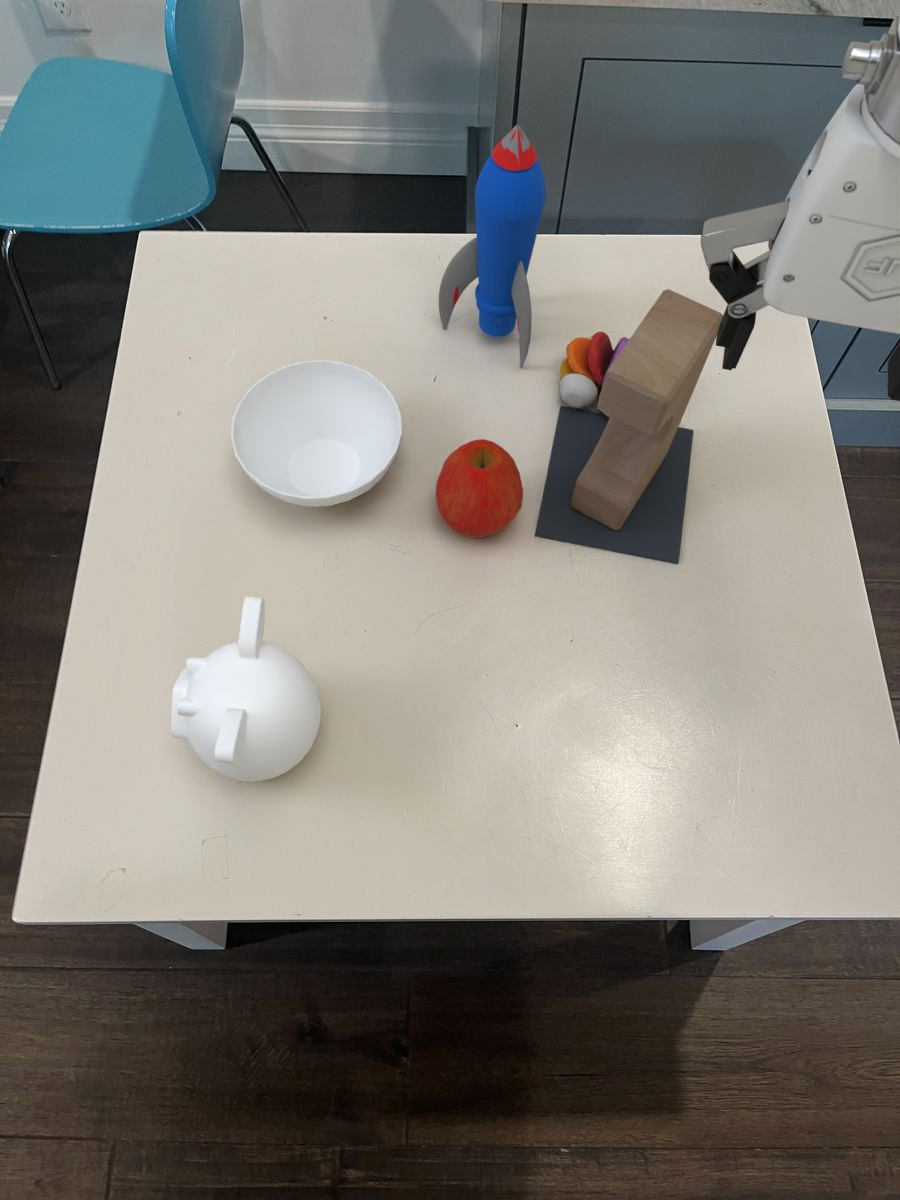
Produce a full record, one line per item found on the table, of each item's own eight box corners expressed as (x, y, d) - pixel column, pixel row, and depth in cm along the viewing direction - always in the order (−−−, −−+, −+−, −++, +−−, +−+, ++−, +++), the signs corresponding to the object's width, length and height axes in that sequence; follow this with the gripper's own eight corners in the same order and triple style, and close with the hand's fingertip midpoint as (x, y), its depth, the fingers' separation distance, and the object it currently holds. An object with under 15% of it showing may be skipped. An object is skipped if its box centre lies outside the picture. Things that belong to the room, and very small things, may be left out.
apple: (534, 528, 86) (548, 465, 76) (463, 566, 84) (468, 507, 74) (488, 468, 89) (496, 400, 79) (419, 504, 87) (418, 439, 77)
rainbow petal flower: (570, 350, 96) (581, 298, 89) (656, 376, 94) (673, 325, 88) (546, 405, 92) (556, 355, 85) (635, 433, 90) (652, 384, 84)
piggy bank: (184, 684, 78) (133, 613, 64) (315, 657, 79) (292, 582, 66) (199, 821, 73) (147, 775, 59) (338, 790, 74) (319, 739, 61)
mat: (692, 432, 91) (693, 429, 91) (677, 564, 84) (679, 562, 84) (560, 407, 92) (560, 405, 92) (534, 536, 85) (535, 534, 85)
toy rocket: (526, 373, 94) (558, 169, 72) (437, 371, 94) (441, 165, 71) (523, 298, 99) (553, 84, 76) (438, 295, 99) (442, 80, 76)
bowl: (212, 460, 88) (196, 417, 82) (338, 380, 93) (332, 333, 87) (308, 567, 83) (299, 530, 77) (436, 477, 88) (437, 435, 82)
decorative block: (616, 534, 85) (667, 403, 67) (566, 506, 86) (602, 370, 68) (668, 456, 89) (729, 313, 71) (619, 430, 91) (667, 283, 73)
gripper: (752, 114, 36) (658, 388, 51) (1195, 183, 34) (961, 445, 50) (765, 8, 39) (672, 296, 55) (1169, 66, 38) (957, 346, 53)
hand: (810, 367), depth 52 cm, fingers open, 9 cm apart
